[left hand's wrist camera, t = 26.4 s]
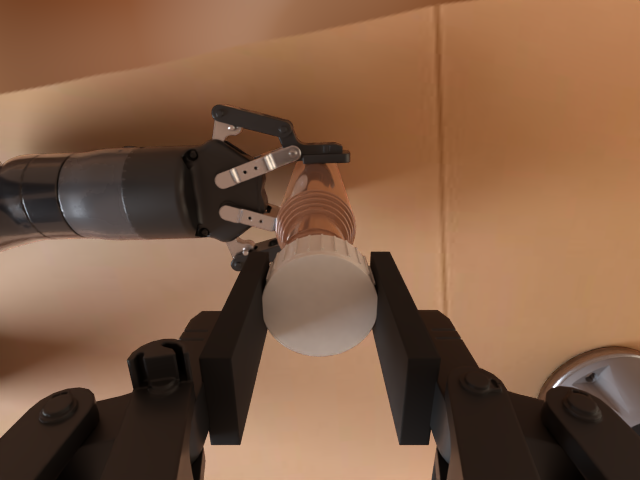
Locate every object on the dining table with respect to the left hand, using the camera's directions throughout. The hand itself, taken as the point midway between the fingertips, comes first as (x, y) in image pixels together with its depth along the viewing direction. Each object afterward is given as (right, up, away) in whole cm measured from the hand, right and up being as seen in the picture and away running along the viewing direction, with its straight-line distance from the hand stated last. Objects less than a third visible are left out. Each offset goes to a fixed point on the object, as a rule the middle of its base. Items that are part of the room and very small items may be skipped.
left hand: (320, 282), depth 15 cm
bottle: (0, +8, +21) cm, 23 cm away
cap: (0, -1, -2) cm, 2 cm away
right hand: (+2, +6, +15) cm, 16 cm away
